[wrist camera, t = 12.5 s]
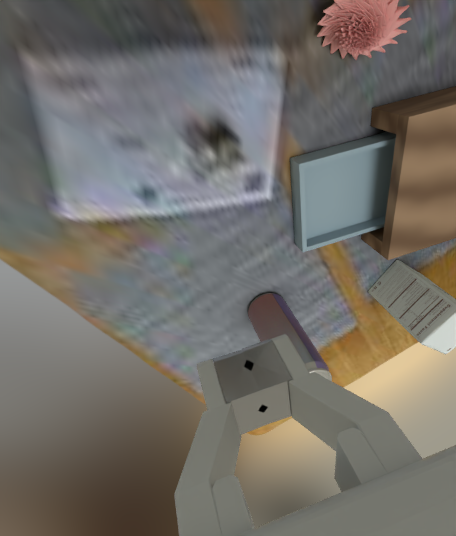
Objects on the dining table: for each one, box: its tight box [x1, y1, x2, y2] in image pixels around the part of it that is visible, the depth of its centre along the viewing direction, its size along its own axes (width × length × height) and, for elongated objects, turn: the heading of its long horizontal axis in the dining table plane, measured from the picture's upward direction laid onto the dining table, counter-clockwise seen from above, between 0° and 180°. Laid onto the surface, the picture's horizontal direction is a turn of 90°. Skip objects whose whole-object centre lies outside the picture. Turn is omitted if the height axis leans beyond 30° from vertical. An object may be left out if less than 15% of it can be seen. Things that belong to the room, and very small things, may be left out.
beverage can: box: [248, 293, 332, 381], centre depth 45 cm, size 6×6×15 cm
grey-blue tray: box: [290, 132, 396, 252], centre depth 42 cm, size 12×19×2 cm, turn 100°
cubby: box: [361, 86, 456, 260], centre depth 42 cm, size 18×12×6 cm, turn 10°
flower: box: [317, 0, 411, 60], centre depth 30 cm, size 8×8×6 cm
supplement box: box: [368, 259, 456, 354], centre depth 51 cm, size 7×7×13 cm
